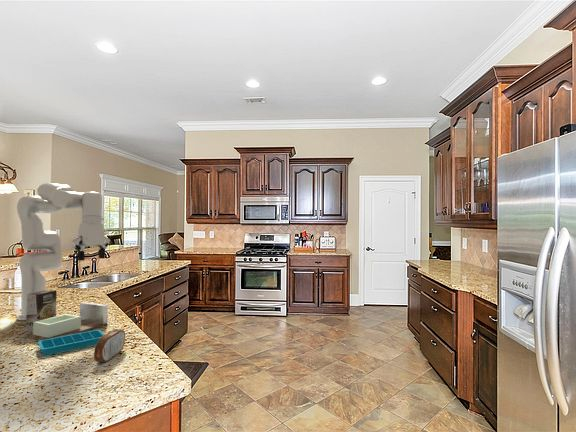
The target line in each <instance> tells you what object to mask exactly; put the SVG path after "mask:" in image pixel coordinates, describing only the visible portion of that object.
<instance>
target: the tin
mask: <svg viewBox="0 0 576 432" xmlns="http://www.w3.org/2000/svg"><path fill="white" fill-rule="evenodd" d="M104 334H105V335H103V336H102V337H101V338H100V339H99V340H98V342H97V344H96V345H94V350H93V358H94V361H95V362H97V363H107V362H109V361H110V360H112V358H114V357H116V356H117V355H119V354H120V353H121V352H122V350H123V348H124V347H125V343H126V333H125V331H124V330H123V329H117V328H114V329H113V330H111V331H108V332H107V333H104Z"/></svg>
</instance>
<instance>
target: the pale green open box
mask: <svg viewBox="0 0 576 432" xmlns="http://www.w3.org/2000/svg"><path fill="white" fill-rule="evenodd" d="M80 328H81V316H80V315H76V314H75V315H74V314H68V313H64V314H61V315H58V316H57V315H56V317H52V318H48V319H44V320H40V321H36V322H33V332H32V333H33V335H38V336H42V337H47V338H50V337H53V336H56V335H60V334H63V333H66V332H70V331H73V330H76V329H80Z"/></svg>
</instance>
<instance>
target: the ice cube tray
mask: <svg viewBox="0 0 576 432" xmlns="http://www.w3.org/2000/svg"><path fill="white" fill-rule="evenodd" d="M105 334H106V333H104V332H103V331H102V330H101V329H93V330H90V331H87V332H82V333H77V334H72V335H67V336H62V337H56V338H51V339H46V340H38V341H37V344H38V346H39V349H40V351H41V352H42V355H43V356H51V355H57V354H61V353H65V352H70V351H74V350H78V349H83V348H89V347H93V346H96V344H97V342H98V340H99V339H100V338H101V337H102V336H103V335H105Z"/></svg>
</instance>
